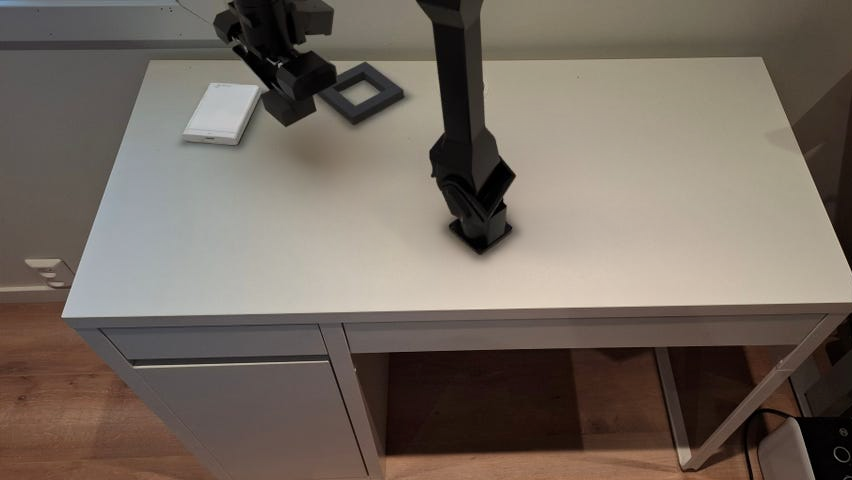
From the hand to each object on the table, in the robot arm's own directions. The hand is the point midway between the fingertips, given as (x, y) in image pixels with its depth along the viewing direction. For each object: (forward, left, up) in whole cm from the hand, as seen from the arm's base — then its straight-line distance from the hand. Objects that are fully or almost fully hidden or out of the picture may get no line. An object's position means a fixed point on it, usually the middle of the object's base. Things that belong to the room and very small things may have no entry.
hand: (289, 104), depth 81 cm
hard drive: (+17, +4, -11) cm, 20 cm away
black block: (0, 0, -1) cm, 1 cm away
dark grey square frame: (+7, -15, -10) cm, 19 cm away
